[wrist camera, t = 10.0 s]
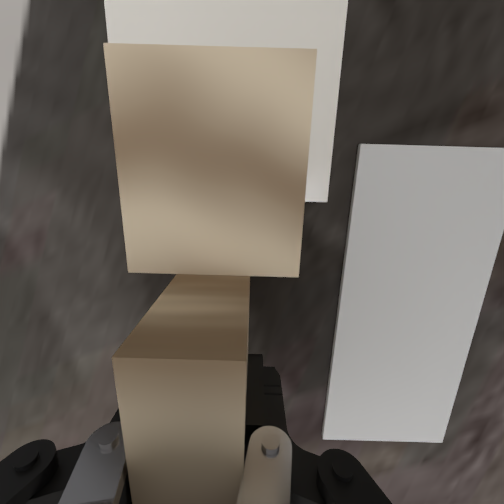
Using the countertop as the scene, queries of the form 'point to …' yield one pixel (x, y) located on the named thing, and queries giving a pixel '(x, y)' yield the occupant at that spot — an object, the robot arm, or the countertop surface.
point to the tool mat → (411, 287)
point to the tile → (252, 35)
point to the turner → (202, 245)
